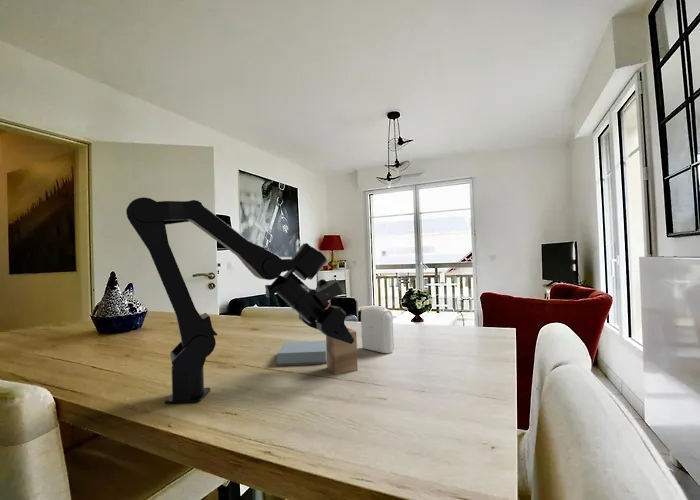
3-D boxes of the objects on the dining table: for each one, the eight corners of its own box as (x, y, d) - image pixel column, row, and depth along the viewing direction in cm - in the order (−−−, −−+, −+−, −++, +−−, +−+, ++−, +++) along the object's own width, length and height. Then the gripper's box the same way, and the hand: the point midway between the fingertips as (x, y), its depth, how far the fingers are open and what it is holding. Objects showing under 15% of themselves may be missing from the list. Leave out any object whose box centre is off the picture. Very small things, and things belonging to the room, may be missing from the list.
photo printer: (359, 348, 105) (358, 305, 105) (370, 345, 107) (369, 303, 108) (385, 355, 97) (383, 308, 97) (396, 352, 99) (394, 306, 100)
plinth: (326, 363, 91) (326, 351, 91) (276, 365, 90) (276, 353, 90) (328, 350, 103) (328, 340, 103) (284, 352, 103) (284, 342, 103)
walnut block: (357, 370, 84) (356, 331, 85) (335, 374, 82) (334, 334, 82) (348, 364, 89) (347, 327, 90) (327, 367, 87) (325, 330, 87)
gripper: (335, 269, 76) (384, 317, 80) (309, 268, 93) (350, 307, 97) (300, 310, 73) (352, 358, 77) (279, 301, 90) (323, 341, 94)
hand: (345, 338), depth 86 cm, fingers open, 9 cm apart
